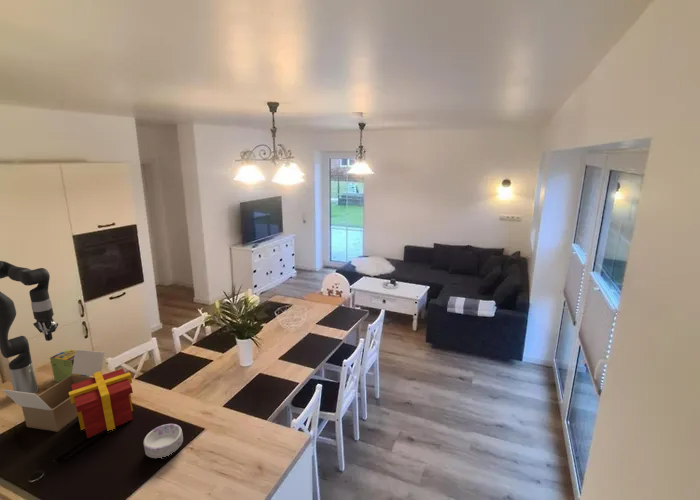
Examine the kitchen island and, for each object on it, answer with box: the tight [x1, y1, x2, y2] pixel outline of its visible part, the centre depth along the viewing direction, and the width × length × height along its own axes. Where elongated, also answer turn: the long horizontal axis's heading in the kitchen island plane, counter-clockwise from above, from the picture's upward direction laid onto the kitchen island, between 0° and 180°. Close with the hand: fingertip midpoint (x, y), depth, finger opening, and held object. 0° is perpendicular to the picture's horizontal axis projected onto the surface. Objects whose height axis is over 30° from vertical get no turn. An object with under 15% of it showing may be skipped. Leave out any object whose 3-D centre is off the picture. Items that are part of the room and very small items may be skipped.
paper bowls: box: [143, 423, 184, 459], centre depth 161 cm, size 15×15×8 cm
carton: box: [21, 375, 94, 433], centre depth 186 cm, size 18×26×12 cm
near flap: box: [2, 388, 52, 410], centre depth 167 cm, size 18×13×1 cm
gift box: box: [69, 368, 134, 439], centre depth 179 cm, size 25×25×20 cm
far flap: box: [72, 348, 106, 377], centre depth 198 cm, size 18×13×1 cm
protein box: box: [49, 349, 90, 383], centre depth 214 cm, size 10×15×16 cm
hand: (49, 340), depth 184 cm, fingers closed
